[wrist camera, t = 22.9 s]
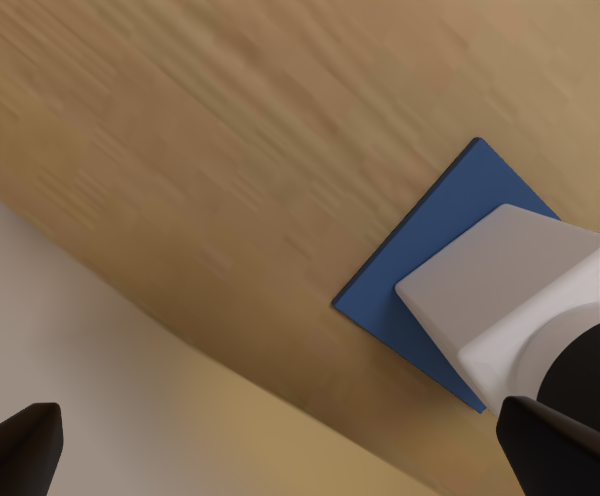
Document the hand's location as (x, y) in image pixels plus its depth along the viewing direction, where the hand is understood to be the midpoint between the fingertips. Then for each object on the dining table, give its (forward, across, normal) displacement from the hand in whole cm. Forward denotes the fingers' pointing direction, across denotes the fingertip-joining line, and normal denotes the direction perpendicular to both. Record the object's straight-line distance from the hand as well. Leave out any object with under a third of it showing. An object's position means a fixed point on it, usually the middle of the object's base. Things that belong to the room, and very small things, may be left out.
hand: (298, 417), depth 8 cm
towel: (+13, -12, +2) cm, 18 cm away
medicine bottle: (+13, -12, +2) cm, 17 cm away
